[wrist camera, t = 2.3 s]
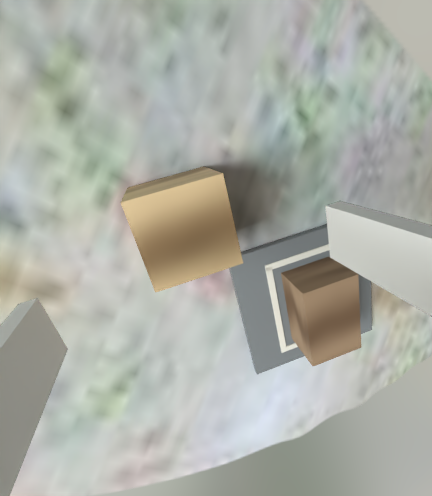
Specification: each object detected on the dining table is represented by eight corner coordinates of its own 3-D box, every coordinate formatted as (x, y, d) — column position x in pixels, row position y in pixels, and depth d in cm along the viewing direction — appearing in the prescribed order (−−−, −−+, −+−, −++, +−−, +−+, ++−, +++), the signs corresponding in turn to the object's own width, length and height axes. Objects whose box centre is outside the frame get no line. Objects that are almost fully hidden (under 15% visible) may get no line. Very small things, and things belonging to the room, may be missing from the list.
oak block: (127, 187, 21) (120, 202, 15) (203, 166, 21) (222, 173, 16) (153, 257, 23) (155, 292, 17) (221, 236, 24) (243, 263, 18)
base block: (280, 272, 26) (303, 293, 22) (328, 256, 26) (358, 274, 22) (291, 338, 29) (313, 366, 25) (334, 322, 29) (361, 347, 26)
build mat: (226, 257, 24) (228, 260, 24) (365, 211, 26) (370, 213, 25) (255, 370, 30) (257, 375, 29) (367, 326, 32) (372, 330, 31)
